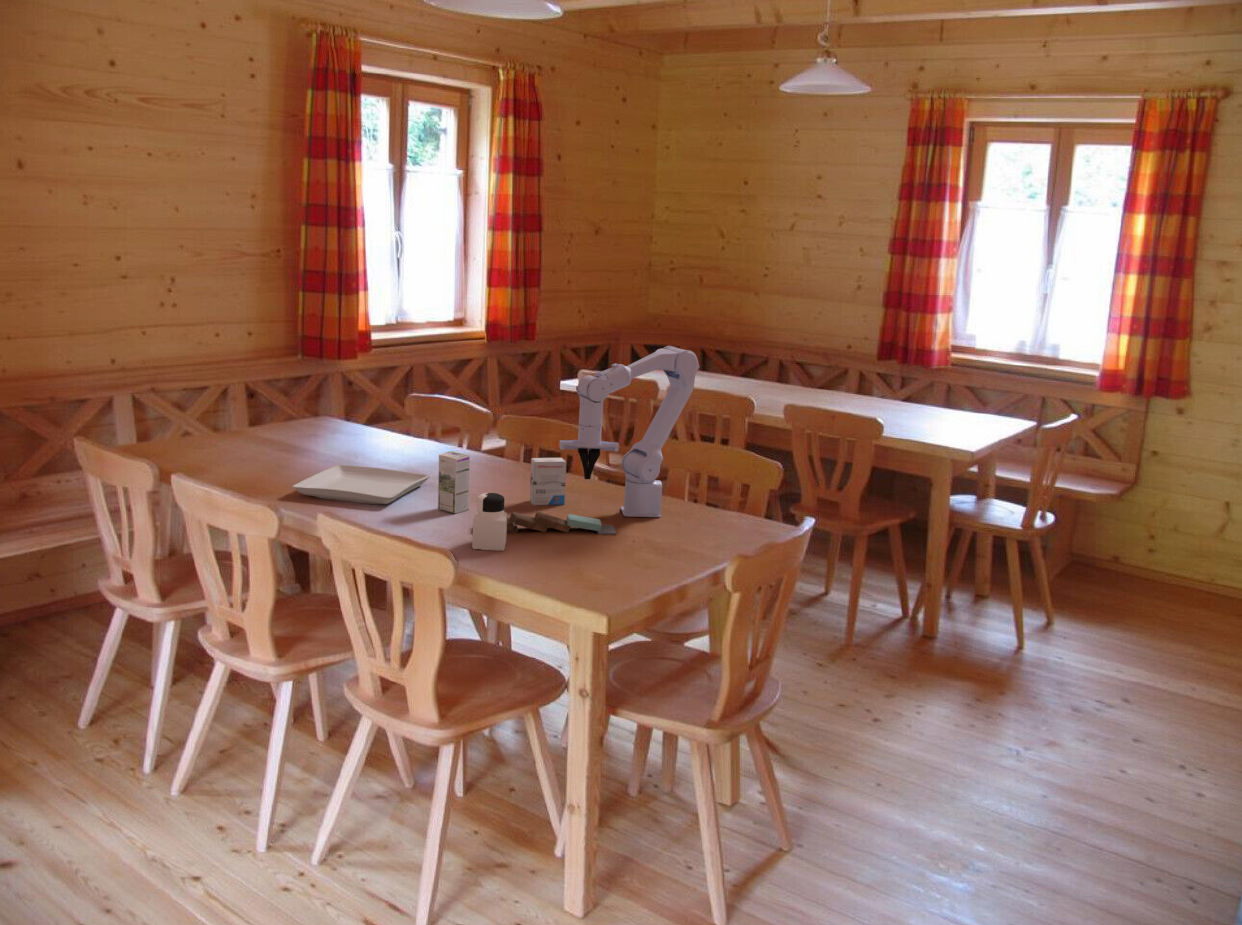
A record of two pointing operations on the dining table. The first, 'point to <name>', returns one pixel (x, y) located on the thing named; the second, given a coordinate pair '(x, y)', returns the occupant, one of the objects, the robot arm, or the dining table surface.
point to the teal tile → (584, 522)
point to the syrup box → (453, 482)
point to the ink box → (547, 481)
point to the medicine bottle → (490, 523)
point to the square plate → (360, 484)
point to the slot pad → (607, 530)
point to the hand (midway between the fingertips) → (587, 478)
